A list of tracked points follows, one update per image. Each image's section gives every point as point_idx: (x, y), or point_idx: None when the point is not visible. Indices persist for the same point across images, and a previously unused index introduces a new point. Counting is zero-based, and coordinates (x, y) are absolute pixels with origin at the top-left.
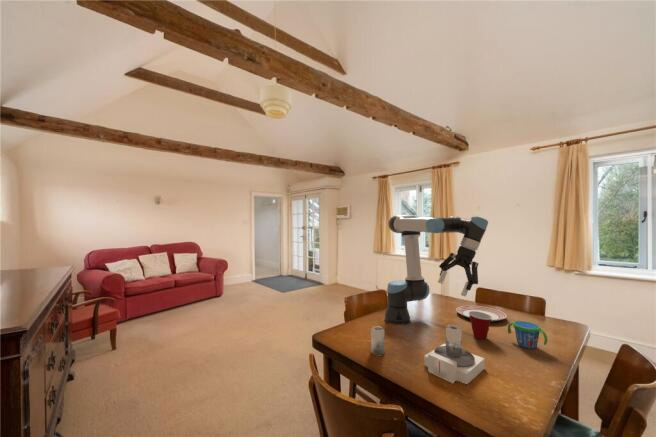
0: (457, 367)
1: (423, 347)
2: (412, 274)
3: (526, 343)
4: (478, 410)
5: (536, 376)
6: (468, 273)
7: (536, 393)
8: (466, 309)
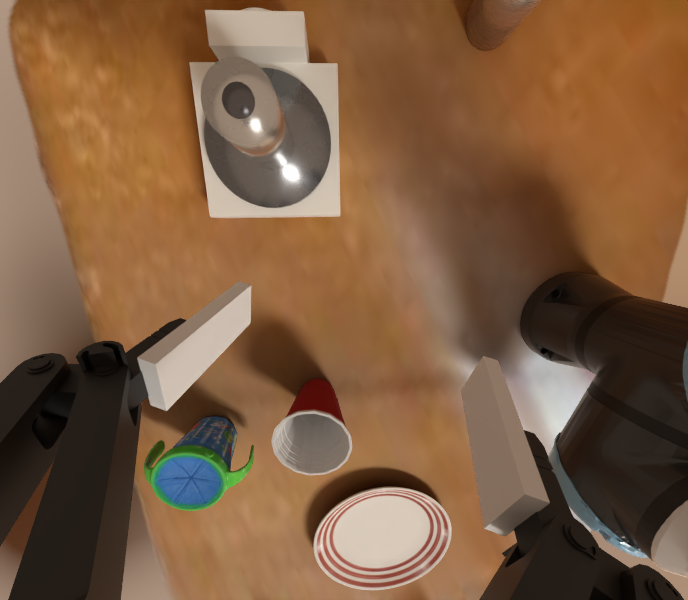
0: None
1: (398, 194)
2: None
3: (202, 423)
4: None
5: (129, 283)
6: (47, 488)
7: (90, 196)
8: (428, 543)
